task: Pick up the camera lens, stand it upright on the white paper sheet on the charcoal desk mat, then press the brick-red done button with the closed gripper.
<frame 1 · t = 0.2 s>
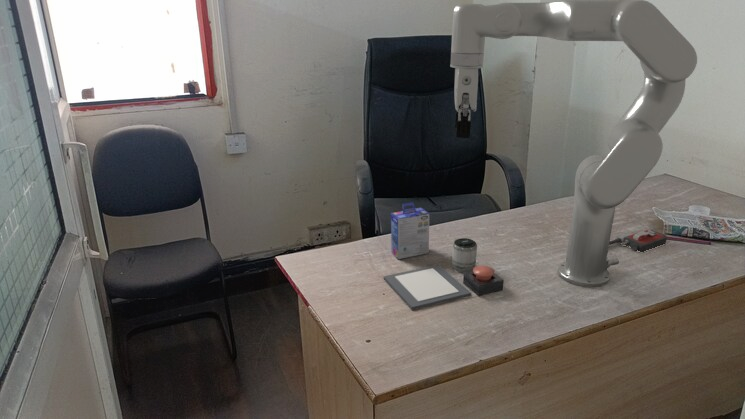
hand: (462, 132, 131), 36 cm above the table, tool pointing down, fingers open, 9 cm apart
ink cartridge box: (409, 253, 152), on the table
camera lens: (463, 268, 143), on the table
desk mat: (425, 287, 134), on the table
walkie-talkie: (633, 247, 155), on the table
button housing: (482, 286, 134), on the table
done button: (483, 275, 132), point 3 cm above the table, slide at 0.0 cm
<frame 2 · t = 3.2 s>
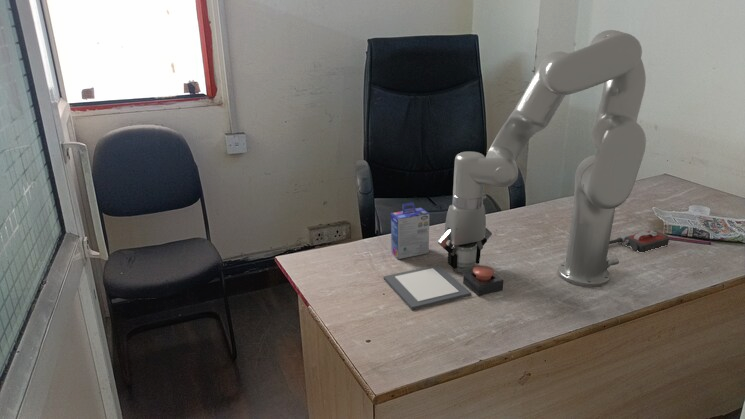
hand: (463, 263, 142), 1 cm above the table, tool pointing down, fingers closed on camera lens, 6 cm apart
camera lens: (463, 268, 143), on the table, touching gripper
everything else where it was.
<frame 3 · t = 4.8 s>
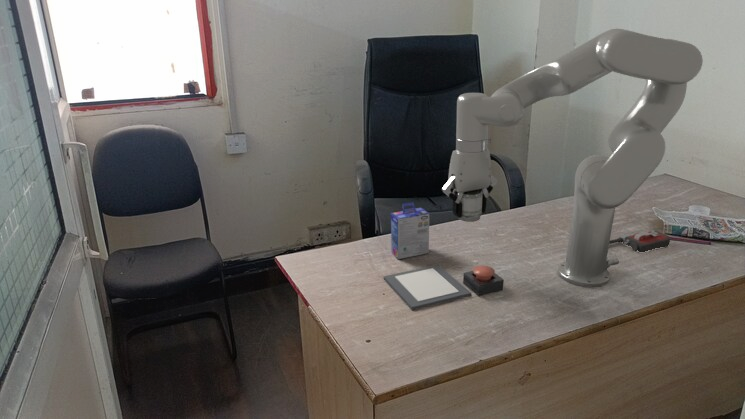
hand: (469, 212, 137), 16 cm above the table, tool pointing down, fingers closed on camera lens, 6 cm apart
camera lens: (469, 218, 138), point 14 cm above the table, touching gripper
everything else where it was.
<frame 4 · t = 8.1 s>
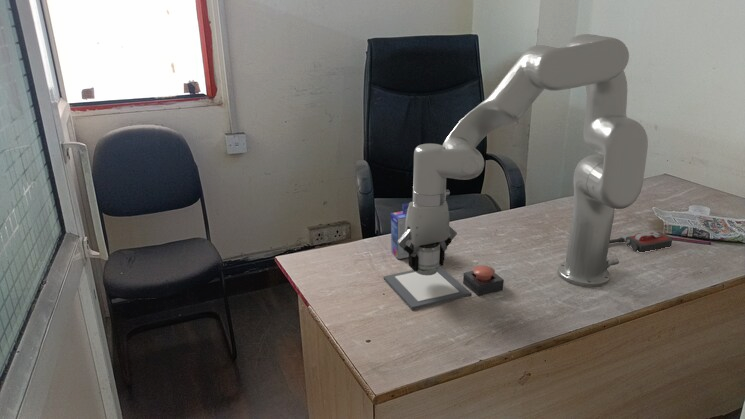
hand: (426, 265, 131), 6 cm above the table, tool pointing down, fingers closed on camera lens, 6 cm apart
camera lens: (426, 270, 132), point 5 cm above the table, touching gripper
everything else where it was.
when the fingers open (4 cm above the table, at t = 9.2 s): camera lens drops 1 cm, resting on desk mat.
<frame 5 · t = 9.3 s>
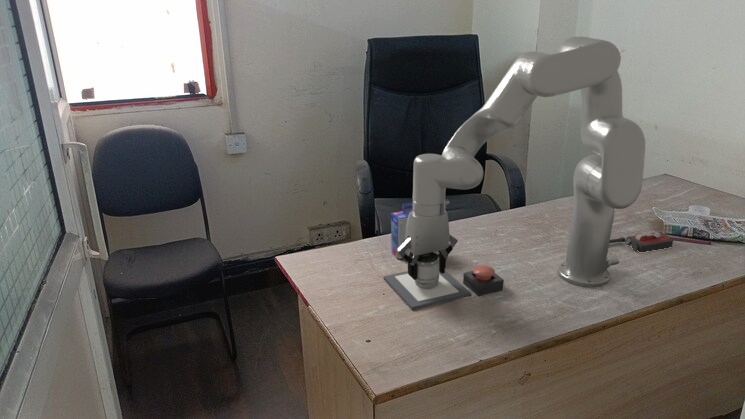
hand: (426, 273, 132), 4 cm above the table, tool pointing down, fingers open, 7 cm apart
camera lens: (426, 283, 133), point 1 cm above the table, touching desk mat
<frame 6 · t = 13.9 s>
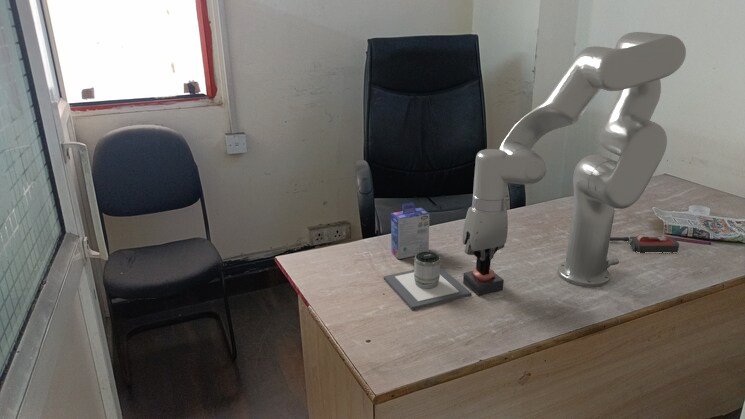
hand: (482, 272, 132), 4 cm above the table, tool pointing down, fingers closed
done button: (483, 276, 133), point 3 cm above the table, slide at 0.5 cm, touching gripper
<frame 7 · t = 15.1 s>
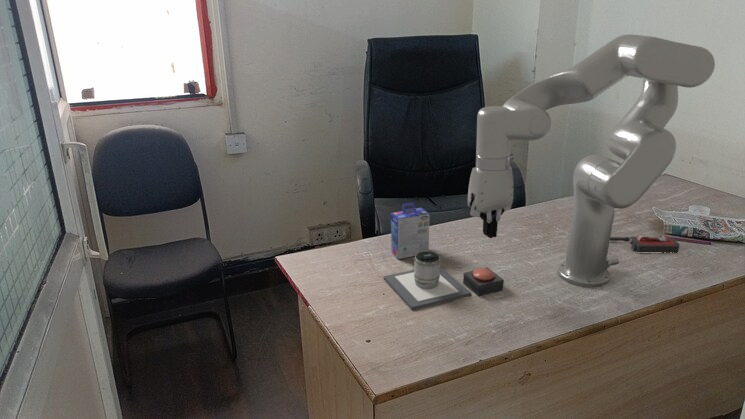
hand: (489, 235, 129), 14 cm above the table, tool pointing down, fingers closed
done button: (483, 278, 133), point 2 cm above the table, slide at 0.8 cm
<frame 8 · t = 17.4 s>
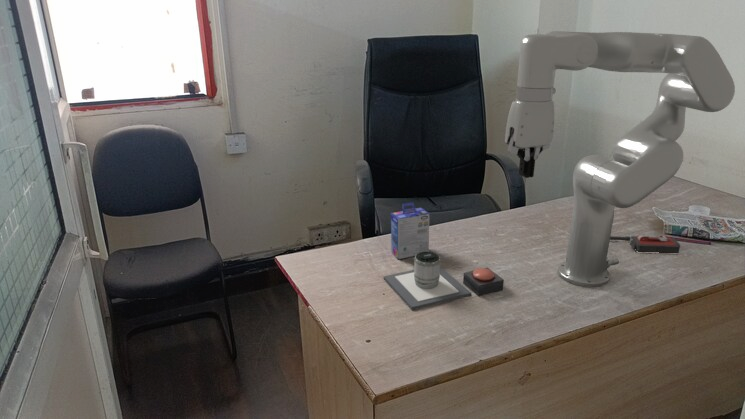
hand: (526, 175, 122), 29 cm above the table, tool pointing down, fingers closed
at the end: camera lens inside the target area on the desk mat (0.2 cm from its centre), point 0.8 cm above the desk mat's base; camera lens tilted 0°; done button slide at 0.8 cm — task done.
